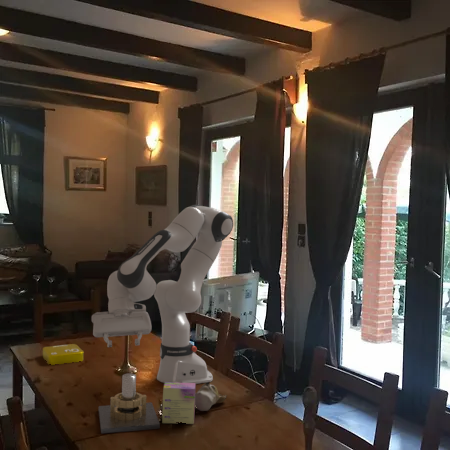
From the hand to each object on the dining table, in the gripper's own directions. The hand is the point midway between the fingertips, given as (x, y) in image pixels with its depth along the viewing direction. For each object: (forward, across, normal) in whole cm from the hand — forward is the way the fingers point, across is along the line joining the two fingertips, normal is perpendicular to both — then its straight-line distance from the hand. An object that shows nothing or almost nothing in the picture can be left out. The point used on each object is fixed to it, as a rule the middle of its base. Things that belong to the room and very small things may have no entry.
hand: (123, 345), depth 184 cm
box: (+26, +16, +5) cm, 31 cm away
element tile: (-26, -20, +57) cm, 66 cm away
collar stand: (+23, 0, +7) cm, 24 cm away
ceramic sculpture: (+20, +29, +12) cm, 37 cm away
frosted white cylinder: (+22, 0, +6) cm, 23 cm away
